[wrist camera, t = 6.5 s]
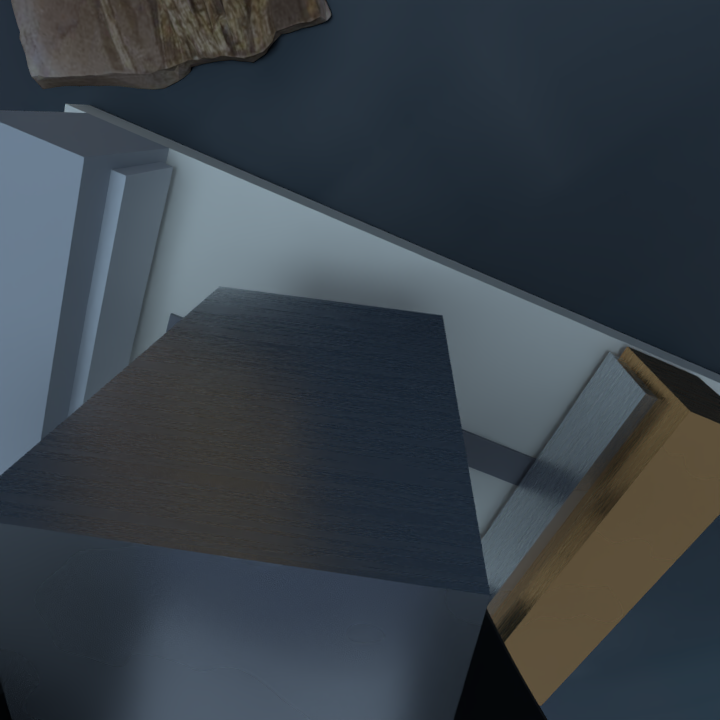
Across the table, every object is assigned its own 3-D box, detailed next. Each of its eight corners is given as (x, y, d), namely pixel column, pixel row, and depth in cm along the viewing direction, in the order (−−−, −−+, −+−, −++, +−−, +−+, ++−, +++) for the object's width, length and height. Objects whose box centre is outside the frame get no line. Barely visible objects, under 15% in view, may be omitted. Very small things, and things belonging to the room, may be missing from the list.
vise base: (721, 375, 14) (845, 476, 10) (550, 588, 18) (591, 723, 14) (89, 104, 13) (-59, 97, 9) (45, 397, 17) (-74, 486, 13)
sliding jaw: (697, 376, 13) (780, 449, 10) (518, 604, 17) (541, 705, 14) (616, 341, 13) (676, 405, 10) (453, 580, 17) (462, 677, 14)
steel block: (442, 315, 9) (489, 596, 4) (385, 626, 13) (366, 1012, 7) (219, 286, 9) (-48, 515, 4) (221, 602, 13) (81, 961, 7)
